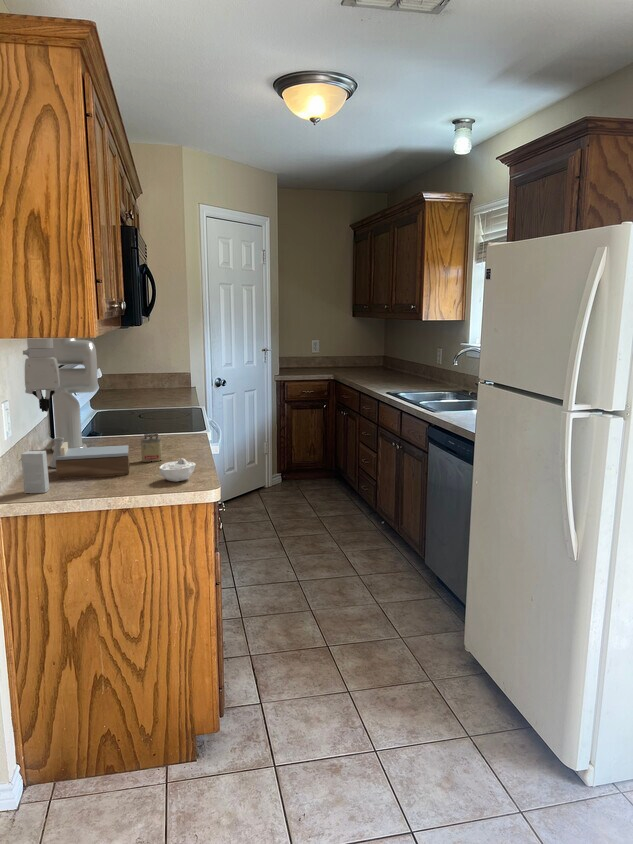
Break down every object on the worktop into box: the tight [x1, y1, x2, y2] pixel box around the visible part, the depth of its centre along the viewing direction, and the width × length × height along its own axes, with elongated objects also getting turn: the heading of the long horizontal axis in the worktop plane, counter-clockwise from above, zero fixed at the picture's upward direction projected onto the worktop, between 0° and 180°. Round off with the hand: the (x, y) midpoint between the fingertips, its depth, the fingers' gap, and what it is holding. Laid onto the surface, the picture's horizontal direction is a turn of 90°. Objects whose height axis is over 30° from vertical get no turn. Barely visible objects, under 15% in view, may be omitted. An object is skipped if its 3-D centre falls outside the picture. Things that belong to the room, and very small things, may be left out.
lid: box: [56, 442, 129, 460], centre depth 206 cm, size 13×22×4 cm, turn 106°
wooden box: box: [55, 450, 130, 480], centre depth 206 cm, size 13×22×6 cm, turn 106°
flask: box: [49, 437, 64, 469], centre depth 215 cm, size 7×7×10 cm
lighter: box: [140, 432, 163, 463], centre depth 223 cm, size 7×4×10 cm, turn 106°
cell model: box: [158, 457, 196, 482], centre depth 196 cm, size 10×12×7 cm
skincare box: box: [20, 450, 50, 494], centre depth 183 cm, size 6×4×12 cm
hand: (45, 410), depth 200 cm, fingers closed
